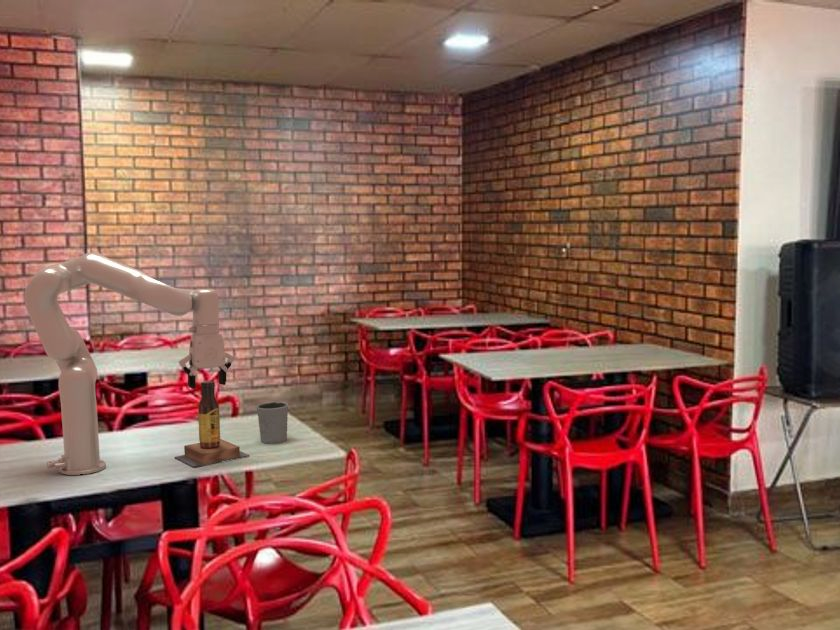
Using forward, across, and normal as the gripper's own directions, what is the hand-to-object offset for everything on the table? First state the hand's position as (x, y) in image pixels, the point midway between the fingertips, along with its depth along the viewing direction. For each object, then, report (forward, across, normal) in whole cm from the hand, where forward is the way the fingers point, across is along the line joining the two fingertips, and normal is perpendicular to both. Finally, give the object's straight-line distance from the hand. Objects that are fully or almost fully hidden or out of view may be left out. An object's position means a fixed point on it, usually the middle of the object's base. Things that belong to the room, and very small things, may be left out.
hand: (207, 386), depth 248 cm
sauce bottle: (+19, 0, 0) cm, 19 cm away
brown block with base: (+22, +1, 0) cm, 22 cm away
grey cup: (+22, +25, +5) cm, 33 cm away
